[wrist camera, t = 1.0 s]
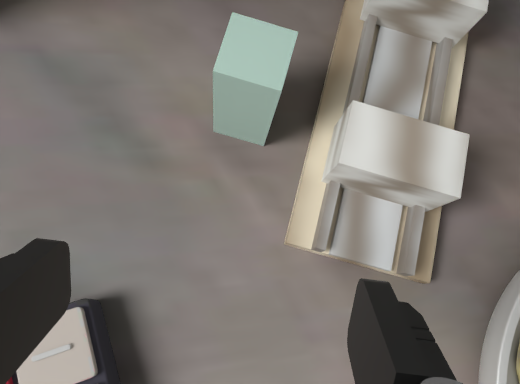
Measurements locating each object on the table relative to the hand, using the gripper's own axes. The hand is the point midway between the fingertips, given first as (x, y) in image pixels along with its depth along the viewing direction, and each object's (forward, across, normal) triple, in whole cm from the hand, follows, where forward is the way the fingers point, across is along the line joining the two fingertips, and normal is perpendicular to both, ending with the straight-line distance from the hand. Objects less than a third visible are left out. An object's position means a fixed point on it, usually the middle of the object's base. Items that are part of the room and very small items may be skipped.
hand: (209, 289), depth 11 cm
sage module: (+27, +1, -1) cm, 27 cm away
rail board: (+30, -11, -4) cm, 32 cm away
